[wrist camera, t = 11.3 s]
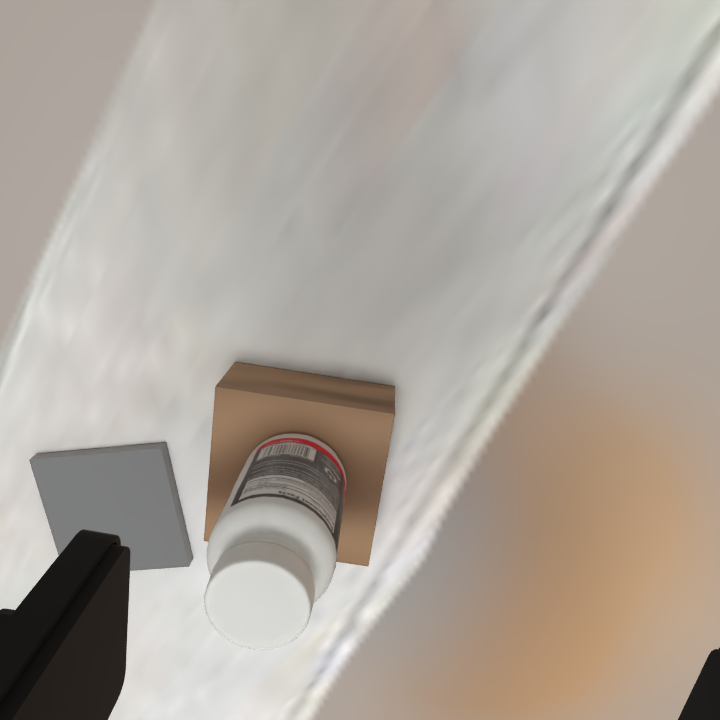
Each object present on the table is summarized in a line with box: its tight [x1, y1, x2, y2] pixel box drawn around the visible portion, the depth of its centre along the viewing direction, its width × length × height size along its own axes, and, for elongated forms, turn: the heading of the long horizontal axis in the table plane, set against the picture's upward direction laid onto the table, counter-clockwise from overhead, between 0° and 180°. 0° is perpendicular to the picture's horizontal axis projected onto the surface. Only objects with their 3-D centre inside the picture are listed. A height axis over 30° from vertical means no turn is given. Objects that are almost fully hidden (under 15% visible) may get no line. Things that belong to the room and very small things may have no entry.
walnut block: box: [204, 362, 395, 566], centre depth 34 cm, size 9×9×4 cm
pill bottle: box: [204, 433, 346, 650], centre depth 27 cm, size 5×5×10 cm
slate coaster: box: [29, 442, 193, 571], centre depth 37 cm, size 8×8×1 cm
